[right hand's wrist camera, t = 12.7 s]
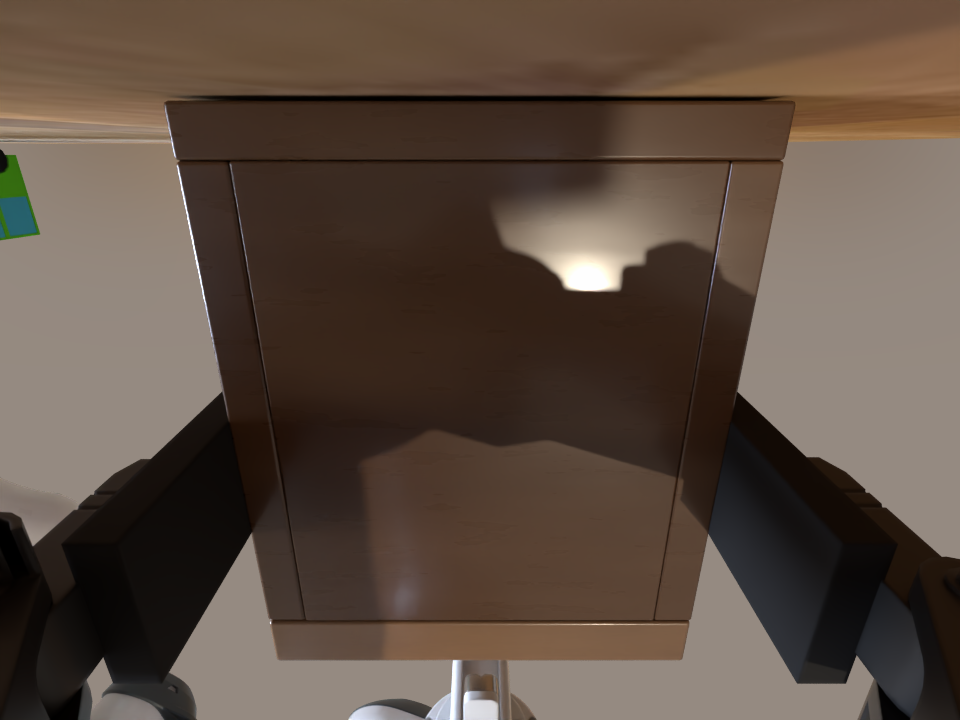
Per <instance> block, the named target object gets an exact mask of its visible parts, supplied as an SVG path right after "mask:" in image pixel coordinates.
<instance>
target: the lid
mask: <svg viewBox="0 0 960 720" xmlns="http://www.w3.org/2000/svg"><path fill="white" fill-rule="evenodd" d="M270 626H271V631H272V636H273V641H274V646H275V651H276V656H277V659H278V660H681V659H682V657H683V653H684V648H685V643H686V638H687V633H688V628H689V620H655V619H653V620H306V617H305V619H303V620H271V621H270Z"/></svg>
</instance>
